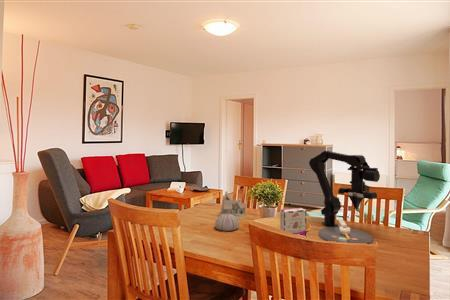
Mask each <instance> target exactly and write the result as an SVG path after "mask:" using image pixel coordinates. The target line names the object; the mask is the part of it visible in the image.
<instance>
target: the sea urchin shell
mask: <svg viewBox="0 0 450 300" xmlns="http://www.w3.org/2000/svg"><path fill="white" fill-rule="evenodd" d="M214 225H215V228H216V229H217V230H219V231H225V232H226V231H227V232H229V231H234V230H235V231H236V230H237V229H238V228H239V226H240V221H239V219H238V218H236V217H235V216H234V215H232V214H229V213H228V214H222V215H220V214H219V216H218V217H217V218H216V220H215V221H214Z"/></svg>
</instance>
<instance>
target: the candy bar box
mask: <svg viewBox="0 0 450 300" xmlns="http://www.w3.org/2000/svg"><path fill="white" fill-rule="evenodd" d="M279 212H280V214H279V215H280V217H279V218H280V223H279V224H280V225H279V231H280V230H283V231H286V232H290V233H293V234H300V235H303V236H306V237H307V209H305V208H302V207H298V208H297V207H296V208H295V207H294V208H284V209H280V211H279Z"/></svg>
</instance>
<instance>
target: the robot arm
mask: <svg viewBox="0 0 450 300" xmlns="http://www.w3.org/2000/svg"><path fill="white" fill-rule="evenodd" d="M328 160H332V161H333V160H334V161H338V162H341V163H342V162H343V163H346V164H347V165H349V167H347V171H351V173H350V175H351V180H350V181H349V184H350V187H346V186H344V187H340V188H338V190H337V192H338V194H340V195H344V194H346V193H347V194H348V195H347V198H349V199H350V201H351V203H352V205H353V207H354V210H359V208H360V205H361V202H362V201H363V199H367V200H373V199H377V198H378V194H377V192H375V191H370V188H371V186H369V185H367V184H366V182H367V181H368V182H375V183H378V182H379V181H380V178H381V174H380V171H379V170H378V167H370V165H369V164H368V162H367V161H366V158H365V156H364V155H363V154H345V153H340V152H335V151H331V150H324V151H322V152H321V153H320V154H318V155H316V156H314V157H312V158H310V159H309V162H308V165H309V167H310V169H311V170H312V171H313V173H314V174H316V178H317V180H318V183H319V185H320V188H321V191H322V194H323V196H324V203H323V204H324V207H323V208H322V209H321V210H320V213H321V215H323V216H324V217H323V219H324V220H323V221H322V222H321V224H322V225H324V226H325V227H338V224H337V223H336V215H337V214H338V213H339V212H340V210H341V208H342V203H341V201H340V198H339V196H337V197H336V196H335V195H334V193H333V190H332V188H331V186H330V183H329V179H328V177H327V174H326V172H325V169H326V164H325V163H326V162H327V161H328ZM365 181H366V182H365Z"/></svg>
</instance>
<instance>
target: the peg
mask: <svg viewBox="0 0 450 300" xmlns="http://www.w3.org/2000/svg"><path fill="white" fill-rule="evenodd" d="M337 227H339V229H340V230H339V233H340V234H342V235H345V236H346V238H347V239H348V240H350V238H349V236H348V235H350V228H351V227H349V226H348V225H347V223H346V222H345V219H341V218H340V219H337Z"/></svg>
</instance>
